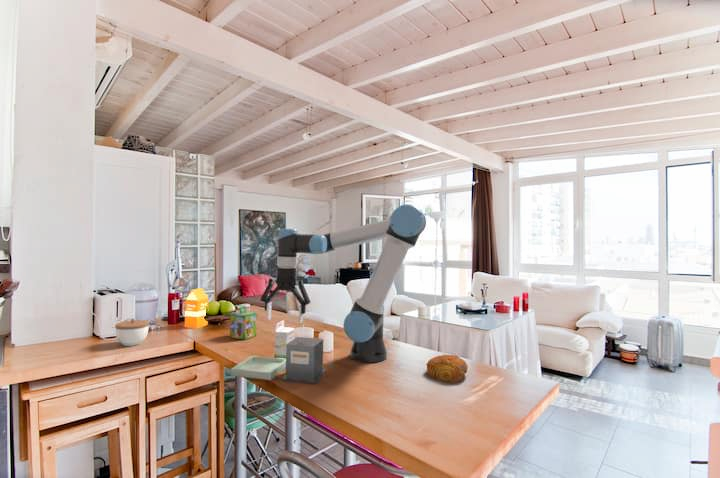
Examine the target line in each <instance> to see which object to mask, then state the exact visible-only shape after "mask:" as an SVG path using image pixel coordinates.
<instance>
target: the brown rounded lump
mask: <svg viewBox="0 0 720 478" xmlns="http://www.w3.org/2000/svg"><path fill="white" fill-rule="evenodd" d="M426 372H427V374H428V375H429V377H430V378H433V379H435V380H437V379H438V380H439V381H442V382H443V381H444V382H446V383H457V382H459V381H461V380H462V378H463V377H464V376H465V374H467V372H468V364H467V362H466V361H465V360H464V359H462V358H461V357H459V356H458V355H454V354H442V355H438V356H434V357H433V358H430V359H429V360H428V361H427V363H426Z"/></svg>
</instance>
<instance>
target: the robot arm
mask: <svg viewBox="0 0 720 478" xmlns="http://www.w3.org/2000/svg"><path fill="white" fill-rule="evenodd" d="M426 225H427V220H426V216H425V214H424V213H423V210H422V209H420V207H418V206H416V205H414V204H408V203H407V204H402V205H399V206H398V207H396V208H395V209H394V210H393V212H392V213H391V215H390V216H389V217H388V218H387V219H383V220H378V221H375V222H370V223H367V224H362V225H359V226H355V227H351V228H346V229H342V230H337V231H334V232H329V233H325V234H308V233H307V234H306V233H305V234H301V233H298V229H296V228H280V229H279V230H278V234H277V235H278V237H277V261H276V266H277V268H276V279H275V278H273V277H272V278H269V279H268V284H267V286H266V288H265V290H264V292H263V293H262V296H261V297H260V302H263V303H264V311H266V319H265V320H267V321H268V320H271V319H272V308H273V307H272V303H273V302H272V300H273V298H275V296H276V295H278V293H279V292H280V291H283V292H284V291H286V292H291V293H292V294H293V296H294V297H295V298H296V300H297V301H298V303H299V304H300V305H299V307H298V323H302V322H303V321H304V314H306V310H307V309H306V308H307V307H306V306H307V305H309V304H311V299H310V298H309V295H308V293H307V290H306V288H305V285H304V280H303V279H300V280H297V268H296V267H297V258H298V257H297V256H298V254H313V255H323V254H327V253H329V252H332V251H337V250H340V249H341V250H342V249H346V248H349V247H354V246H358V245H364V244H367V243H368V244H369V243H372V242H377V241H380V240H381V241H382V240H385V239H387V240H386V242H385V243H384V246H383V249H382V251H381V253H380V255H379V257H378V260H377V262H376V264H375V266H374V268H373V271H372V273H371V275H370V277H369V280H368V281H367V284H366V286H365V288H364V291H363V293H362V295H361V296H360V297H359V298H356V299H355V301H354V303H353V305H352V307H351V310H350V312H349V313H348V314H347V315H346V316H345V318H344V320H343V325H342V326H343V330H344V334H345V336H346V337H348V339H349V340H351V341H353V342H352V345H351V348H350V350H349V353H350V355H349V356H350V358H351V359H352V360H354V361H356V362H361V363H362V362H363V363H377V362H382V361H385V360H386V359H387V358H388V352H387V348H386V345H385V341H384V315H385V314H384V313H385V306H384V305H385V301H386V299H387V297H388V295H389V293H390V291H391V289H392V286H393V284H394V282H395V280H396V277H397V275H398V273H399V271H400V269H401V267H402V264H403V262H404V260H405V258H406V255H407V253H408V251H409V250H410V249H411V248H414V247H415V245H416V244H417V241H418V239H419V238H420V235H421V234H422V233H423V232H424V230H425V228H426ZM275 284H276V287H275V288H274V289H273V286H274V285H275ZM296 285H297V286H298V288H299V291H300V292H299V291H298V289H297V287H296ZM272 289H273V291H272V292H271V290H272ZM300 293H301V294H300Z"/></svg>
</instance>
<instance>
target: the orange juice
mask: <svg viewBox="0 0 720 478" xmlns="http://www.w3.org/2000/svg"><path fill="white" fill-rule="evenodd" d="M184 305H185V306H184V307H185V308H184V328H190V329H191V328H192V329H199V328H203V327H205V326H207V325H208V321H206V320H205V319H204V317H205V316H206V309H207V308H206V307H208V308H209V298H208V296H207V293H206V292H205V290H204V288H203V287H201V288H195V289H194V288H193V289H191V291H190V292H189V293H188V296H187V297H186V298H185V304H184Z"/></svg>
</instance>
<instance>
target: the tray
mask: <svg viewBox="0 0 720 478" xmlns="http://www.w3.org/2000/svg"><path fill="white" fill-rule="evenodd" d="M283 370H284V371H285V370H286V359H283V358H274V357H272V356H270V357H269V356H261V355H260V356H259V355H251V356H249V357H247V358H245V359H244V360H243V361H241V362H240V363H238V364H236V365H235V366H234V367H232V368H230V377H239V378H248V379H255V380H256V379H257V380H266V381H272V380H273V379H274V378H275V377H276V376H278V375H279V374H280V373H282V372H283Z"/></svg>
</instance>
